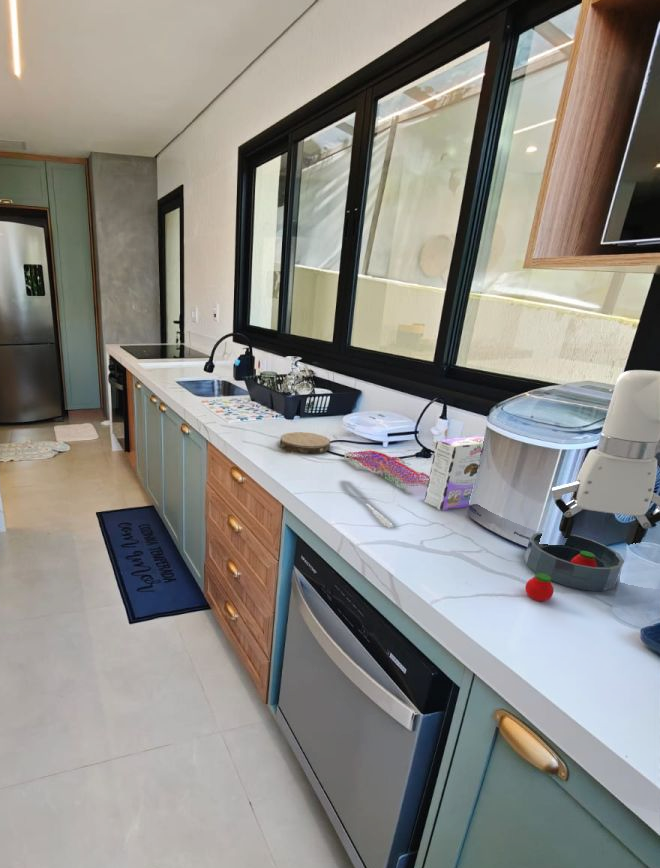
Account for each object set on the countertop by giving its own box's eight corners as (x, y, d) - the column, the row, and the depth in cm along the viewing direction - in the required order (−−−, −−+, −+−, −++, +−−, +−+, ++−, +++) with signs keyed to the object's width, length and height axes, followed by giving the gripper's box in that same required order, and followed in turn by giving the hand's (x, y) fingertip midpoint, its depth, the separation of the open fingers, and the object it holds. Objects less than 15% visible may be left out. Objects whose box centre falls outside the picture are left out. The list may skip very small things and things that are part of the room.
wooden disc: (269, 445, 165) (270, 436, 164) (303, 438, 174) (304, 429, 173) (305, 458, 154) (306, 449, 152) (339, 450, 163) (340, 441, 161)
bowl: (601, 563, 98) (610, 540, 96) (625, 601, 86) (635, 576, 84) (519, 548, 103) (525, 526, 101) (530, 582, 91) (537, 557, 89)
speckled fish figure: (448, 494, 129) (452, 475, 127) (396, 498, 126) (400, 478, 124) (385, 458, 156) (387, 441, 154) (340, 460, 153) (342, 443, 151)
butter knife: (382, 527, 109) (395, 525, 109) (338, 483, 134) (349, 482, 134) (382, 529, 109) (395, 528, 109) (338, 485, 134) (349, 484, 134)
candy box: (465, 496, 128) (480, 434, 122) (484, 505, 123) (501, 441, 117) (422, 502, 124) (435, 438, 118) (440, 512, 119) (455, 445, 113)
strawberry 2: (589, 572, 94) (597, 551, 92) (595, 583, 90) (603, 561, 88) (564, 567, 95) (572, 546, 93) (569, 578, 91) (577, 556, 90)
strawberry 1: (538, 592, 88) (545, 569, 86) (555, 605, 84) (563, 582, 83) (517, 593, 87) (524, 570, 86) (533, 606, 84) (541, 583, 82)
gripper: (682, 447, 83) (649, 540, 89) (560, 436, 90) (536, 523, 96) (703, 460, 77) (665, 559, 83) (569, 446, 83) (544, 540, 89)
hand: (596, 540), depth 89 cm, fingers open, 9 cm apart
